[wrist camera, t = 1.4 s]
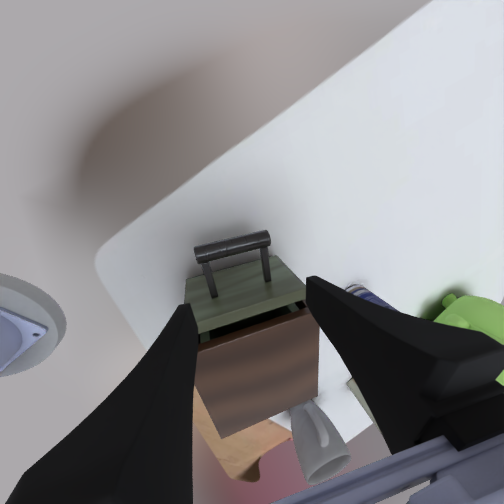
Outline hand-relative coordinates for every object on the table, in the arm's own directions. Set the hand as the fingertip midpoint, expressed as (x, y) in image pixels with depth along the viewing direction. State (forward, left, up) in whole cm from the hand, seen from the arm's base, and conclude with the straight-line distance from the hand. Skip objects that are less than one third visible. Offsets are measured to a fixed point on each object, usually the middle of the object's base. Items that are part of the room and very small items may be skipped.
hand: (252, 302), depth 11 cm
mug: (-11, -38, -10) cm, 41 cm away
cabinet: (-5, -10, -10) cm, 15 cm away
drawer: (-3, -6, -9) cm, 11 cm away
